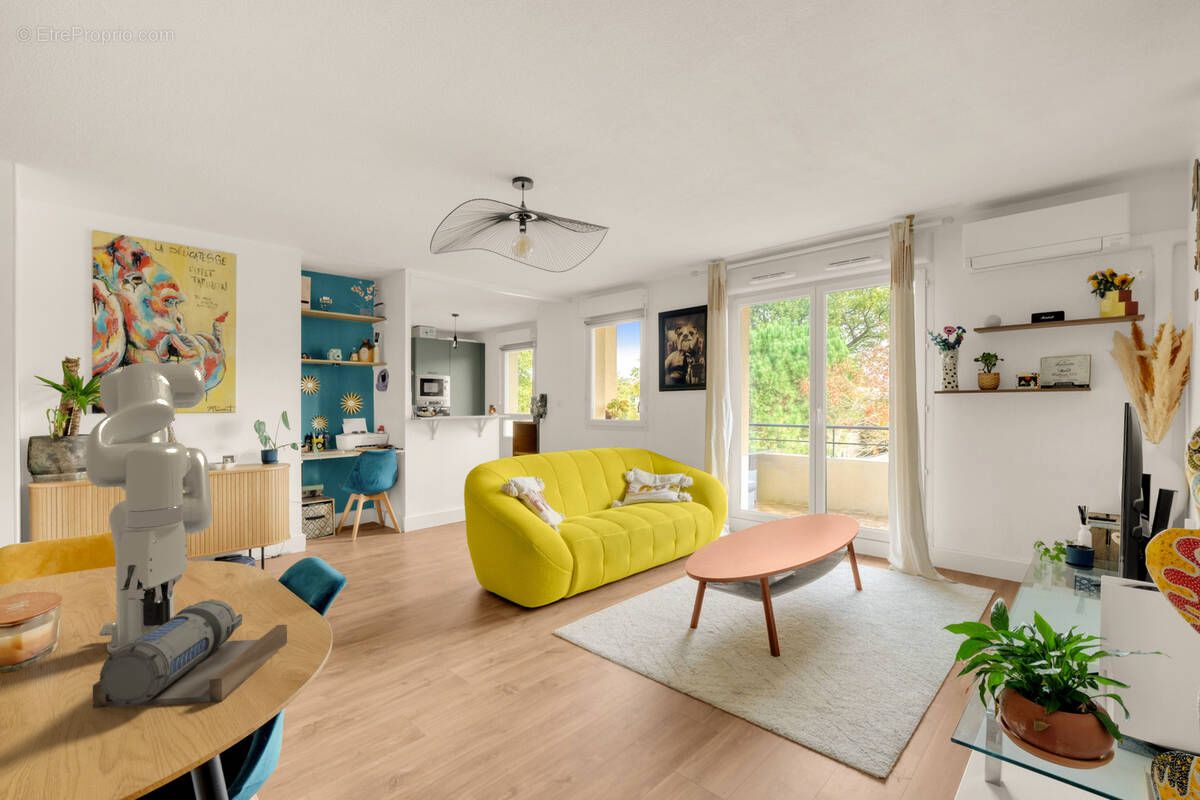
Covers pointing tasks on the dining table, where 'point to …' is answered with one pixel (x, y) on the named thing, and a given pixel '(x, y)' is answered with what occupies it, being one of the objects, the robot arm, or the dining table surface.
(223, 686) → the u rest
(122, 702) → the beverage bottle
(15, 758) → the dining table surface
